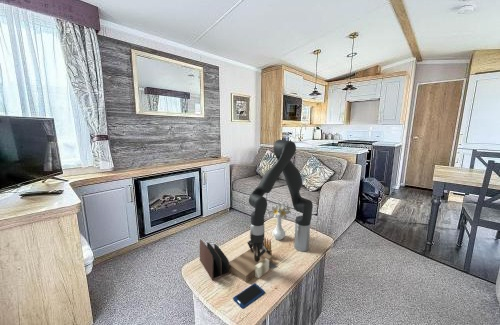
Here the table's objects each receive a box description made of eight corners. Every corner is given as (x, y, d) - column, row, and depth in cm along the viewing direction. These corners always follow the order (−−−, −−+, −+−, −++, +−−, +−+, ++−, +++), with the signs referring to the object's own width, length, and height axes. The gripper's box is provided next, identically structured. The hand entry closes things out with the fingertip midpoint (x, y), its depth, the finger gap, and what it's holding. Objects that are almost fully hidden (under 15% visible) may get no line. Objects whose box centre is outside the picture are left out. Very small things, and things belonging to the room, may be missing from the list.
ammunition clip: (255, 252, 127) (256, 234, 126) (257, 251, 129) (257, 233, 127) (270, 259, 121) (270, 240, 119) (271, 257, 122) (272, 239, 120)
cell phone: (232, 299, 92) (232, 297, 92) (255, 283, 101) (255, 282, 101) (242, 310, 87) (242, 308, 86) (265, 292, 96) (265, 291, 95)
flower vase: (262, 236, 147) (262, 203, 143) (284, 231, 154) (285, 199, 150) (271, 245, 135) (271, 209, 131) (294, 240, 142) (295, 205, 138)
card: (265, 258, 112) (269, 260, 110) (265, 267, 113) (269, 270, 111) (254, 265, 105) (258, 268, 104) (254, 276, 106) (258, 278, 105)
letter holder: (212, 281, 103) (211, 256, 101) (199, 260, 120) (198, 238, 118) (229, 274, 108) (229, 249, 106) (215, 254, 125) (214, 233, 123)
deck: (254, 252, 127) (254, 246, 127) (272, 262, 118) (272, 256, 117) (227, 269, 112) (227, 263, 111) (245, 282, 102) (245, 275, 101)
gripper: (271, 232, 106) (270, 263, 109) (252, 224, 115) (252, 252, 118) (262, 238, 101) (261, 270, 104) (243, 229, 110) (243, 258, 113)
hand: (257, 260), depth 111 cm, fingers closed
